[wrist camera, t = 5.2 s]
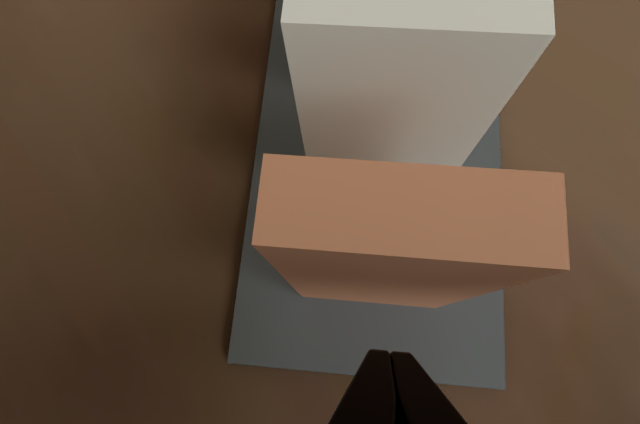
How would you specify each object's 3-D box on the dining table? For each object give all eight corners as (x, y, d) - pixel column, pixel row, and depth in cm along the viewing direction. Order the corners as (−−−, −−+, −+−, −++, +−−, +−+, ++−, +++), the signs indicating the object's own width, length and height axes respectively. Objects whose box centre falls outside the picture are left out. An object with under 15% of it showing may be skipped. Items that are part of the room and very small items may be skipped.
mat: (501, 388, 16) (505, 389, 16) (229, 362, 17) (227, 362, 16) (491, -104, 22) (494, -112, 22) (292, -110, 23) (291, -117, 22)
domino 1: (437, 199, 18) (555, 35, 8) (312, 190, 18) (280, 22, 8) (438, 161, 18) (551, -38, 8) (315, 153, 18) (289, -47, 9)
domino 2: (435, 308, 16) (570, 270, 7) (301, 296, 17) (251, 244, 7) (436, 265, 17) (564, 173, 7) (305, 255, 17) (263, 153, 8)
